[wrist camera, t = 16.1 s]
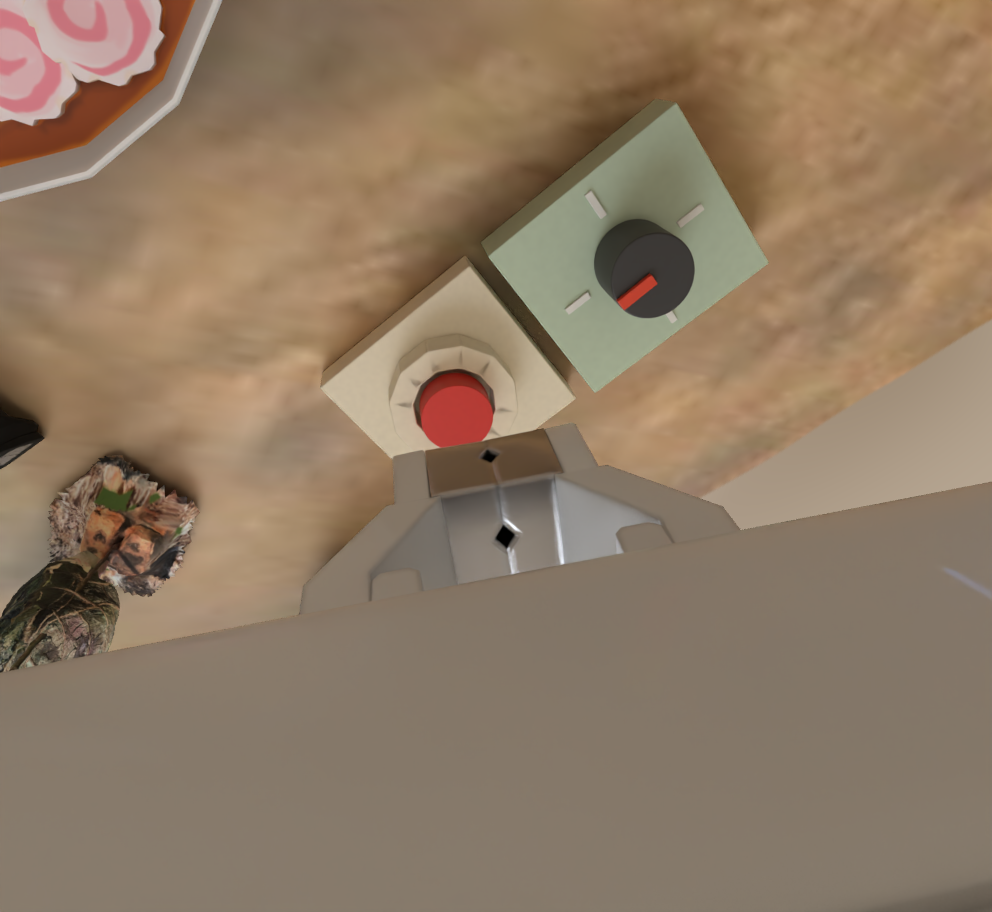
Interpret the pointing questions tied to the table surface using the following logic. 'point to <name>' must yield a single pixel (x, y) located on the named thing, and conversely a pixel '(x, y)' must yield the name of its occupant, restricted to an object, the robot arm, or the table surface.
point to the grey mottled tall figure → (95, 564)
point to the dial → (644, 268)
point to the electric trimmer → (16, 437)
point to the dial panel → (601, 206)
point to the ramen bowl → (88, 81)
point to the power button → (455, 410)
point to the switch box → (445, 364)
